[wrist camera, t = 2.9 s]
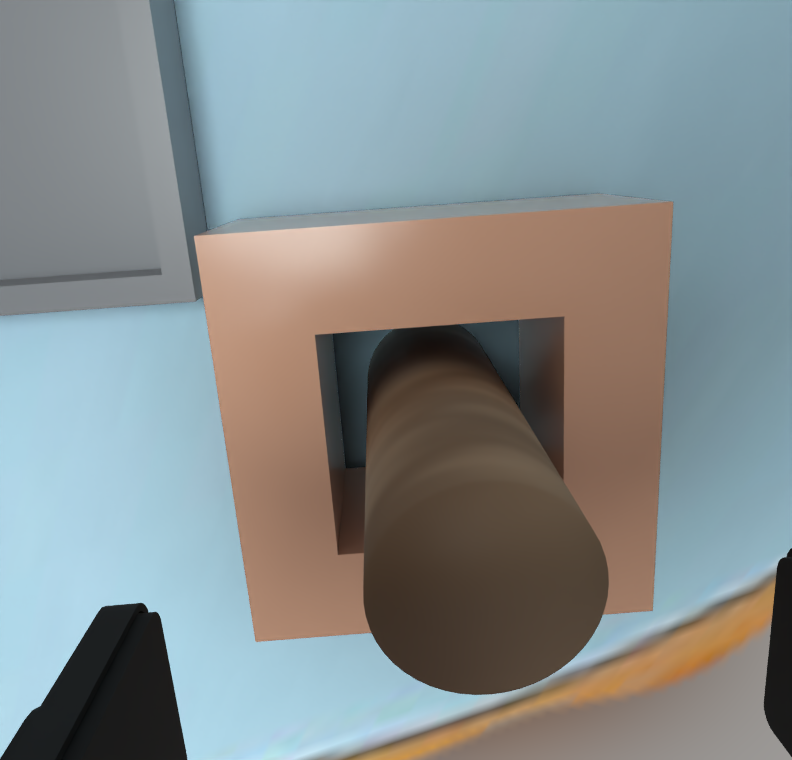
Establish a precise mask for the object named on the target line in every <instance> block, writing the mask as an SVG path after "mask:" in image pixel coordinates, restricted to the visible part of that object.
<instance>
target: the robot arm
mask: <svg viewBox="0 0 792 760" xmlns="http://www.w3.org/2000/svg"><path fill="white" fill-rule="evenodd" d="M764 710H765V715H766V718H767V721H768V724H769V726H770V728H771V729H772V731H773V732H774V734H775V735H776V737H777V738H778V739H779V741H780V742H781V743H782V744H783V746H784V747H785V748H786V750H787V751H788V753H789V754H790V755H791V757H792V548H791V549H790V550H789V552H788V554H787V557H785V558H782V559H780V561H779V563H778V566H777V575H776V585H775V595H774V605H773V615H772V625H771V635H770V647H769V657H768V666H767V677H766V686H765V696H764ZM0 760H187V754H186V749H185V744H184V739H183V733H182V728H181V723H180V718H179V712H178V707H177V702H176V697H175V691H174V686H173V681H172V676H171V670H170V665H169V660H168V654H167V649H166V644H165V639H164V633H163V628H162V623H161V619H160V616H159V614H158V613H157V612H150V613H148V609H147V607H146V606H145V605H144V604H143V603H137V604H125V605H114V606H105V607H102V608H101V609H100V611H99V612H98V613H97V615H96V617H95V618H94V620H93V622H92V623H91V625H90V626H89V628H88V630H87V631H86V633H85V635H84V636H83V638H82V639H81V641H80V643H79V644H78V646H77V648H76V649H75V651H74V652H73V654H72V656H71V657H70V659H69V661H68V662H67V664H66V666H65V667H64V669H63V670H62V672H61V674H60V675H59V677H58V679H57V680H56V682H55V683H54V685H53V687H52V688H51V690H50V692H49V693H48V695H47V696H46V698H45V700H44V701H43V703H42V705H41V706H40V707H38V708H36V709H34V710H33V711H32V712H31V713H30V714H29V715H28V716H27V718H26V719H25V720H24V722H23V723H22V725H21V727H20V728H19V730H18V731H17V733H16V735H15V736H14V738H13V739H12V741H11V743H10V744H9V746H8V747H7V749H6V750H5V752H4V754H3V755H2V757H1V758H0Z"/></svg>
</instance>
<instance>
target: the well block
mask: <svg viewBox="0 0 792 760" xmlns="http://www.w3.org/2000/svg"><path fill="white" fill-rule="evenodd" d="M672 218H673V202H672V201H663V200H654V199H645V198H636V197H627V196H618V195H609V194H600V193H596V194H582V195H568V196H554V197H540V198H526V199H512V200H498V201H484V202H470V203H456V204H442V205H428V206H414V207H400V208H386V209H372V210H358V211H344V212H330V213H316V214H302V215H288V216H274V217H260V218H246V219H237V220H235V221H232V222H230V223H227V224H224V225H222V226H219V227H216V228H214V229H211V230H208V231H206V232H203V233H201V234H198V235H195V236H194V240H195V247H196V253H197V260H198V266H199V273H200V280H201V286H202V293H203V299H204V306H205V312H206V319H207V326H208V332H209V339H210V345H211V352H212V358H213V365H214V371H215V378H216V385H217V391H218V398H219V404H220V411H221V417H222V424H223V431H224V437H225V444H226V450H227V457H228V463H229V470H230V477H231V483H232V490H233V496H234V503H235V509H236V516H237V523H238V529H239V536H240V542H241V549H242V555H243V562H244V569H245V575H246V582H247V588H248V595H249V601H250V608H251V614H252V621H253V628H254V634H255V641H256V642H260V641H272V640H285V639H298V638H310V637H323V636H336V635H349V634H361V633H372V632H371V631H370V628H369V625H368V622H367V619H366V615H365V609H364V603H363V575H364V528H365V482H366V467H358V468H346V466H345V456H344V446H343V436H342V425H341V415H340V405H339V395H338V384H337V374H336V364H335V354H334V343H333V333H345V332H358V331H372V330H386V329H399V328H413V327H427V326H440V325H454V324H467V323H481V322H495V321H508V320H519V377H520V411H521V412H522V414H523V416H524V417H525V419H526V421H527V422H528V424H529V426H530V427H531V429H532V430H533V432H534V434H535V435H536V437H537V439H538V440H539V442H540V444H541V445H542V447H543V449H544V450H545V452H546V453H547V455H548V457H549V458H550V460H551V462H552V463H553V465H554V467H555V468H556V470H557V471H558V473H559V475H560V476H561V478H562V480H563V481H564V483H565V485H566V486H567V488H568V489H569V491H570V493H571V494H572V496H573V498H574V499H575V501H576V503H577V504H578V506H579V507H580V509H581V511H582V512H583V514H584V516H585V517H586V519H587V521H588V522H589V524H590V525H591V527H592V529H593V530H594V532H595V534H596V536H597V538H598V539H599V541H600V543H601V546H602V548H603V551H604V554H605V556H606V561H607V566H608V575H609V588H608V598H607V602H606V606H605V610H604V613H603V614H616V613H629V612H642V611H653V594H654V574H655V555H656V535H657V515H658V495H659V475H660V456H661V436H662V416H663V396H664V376H665V357H666V337H667V317H668V297H669V277H670V258H671V238H672Z"/></svg>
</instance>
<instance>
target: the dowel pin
mask: <svg viewBox="0 0 792 760" xmlns="http://www.w3.org/2000/svg"><path fill="white" fill-rule="evenodd" d="M608 588H609V575H608V566H607V561H606V556H605V554H604V551H603V548H602V546H601V543H600V541H599V539H598V538H597V536H596V534H595V532H594V530H593V529H592V527H591V525H590V524H589V522H588V521H587V519H586V517H585V516H584V514H583V512H582V511H581V509H580V507H579V506H578V504H577V503H576V501H575V499H574V498H573V496H572V494H571V493H570V491H569V489H568V488H567V486H566V485H565V483H564V481H563V480H562V478H561V476H560V475H559V473H558V471H557V470H556V468H555V467H554V465H553V463H552V462H551V460H550V458H549V457H548V455H547V453H546V452H545V450H544V449H543V447H542V445H541V444H540V442H539V440H538V439H537V437H536V435H535V434H534V432H533V430H532V429H531V427H530V426H529V424H528V422H527V421H526V419H525V417H524V416H523V414H522V412H521V411H520V409H519V408H518V406H517V404H516V403H515V401H514V399H513V398H512V396H511V394H510V393H509V391H508V390H507V388H506V386H505V385H504V383H503V381H502V380H501V378H500V376H499V375H498V373H497V372H496V370H495V368H494V367H493V365H492V363H491V362H490V360H489V358H488V357H487V355H486V354H485V352H484V350H483V349H482V347H481V345H480V344H479V343H478V341H477V340H476V339H475V338H474V337H473V336H472V335H471V334H470V333H469V332H468V331H467V330H465V329H464V328H462V327H461V326H459V325H457V324H454V325H440V326H427V327H413V328H399V329H394V330H392V331H391V332H390V333H389V334H387V335H386V336H385V337H384V338H383V339H382V341H381V342H380V343H379V345H378V346H377V348H376V349H375V351H374V353H373V355H372V358H371V361H370V364H369V369H368V390H367V436H366V482H365V528H364V575H363V603H364V609H365V615H366V619H367V622H368V625H369V628H370V631H371V632H372V634H373V636H374V638H375V640H376V642H377V644H378V645H379V646H380V648H381V649H382V651H383V652H384V654H385V655H386V656H387V657H388V658H389V659H390V660H391V661H392V662H393V663H394V664H395V665H396V666H398V667H399V668H400V669H401V670H403V671H404V672H405V673H407V674H408V675H410V676H412V677H413V678H415V679H416V680H418V681H421V682H423V683H425V684H427V685H429V686H432V687H435V688H438V689H441V690H445V691H449V692H455V693H460V694H472V695H482V694H496V693H503V692H508V691H512V690H516V689H520V688H523V687H526V686H529V685H531V684H534V683H536V682H538V681H540V680H542V679H544V678H546V677H548V676H550V675H551V674H553V673H555V672H556V671H558V670H559V669H561V668H562V667H563V666H565V665H566V664H567V663H568V662H570V661H571V660H572V659H573V658H574V657H575V656H576V655H577V654H578V653H579V652H580V651H581V650H582V649H583V648H584V646H585V645H586V644H587V642H588V641H589V640H590V638H591V637H592V635H593V634H594V632H595V630H596V628H597V627H598V625H599V623H600V620H601V618H602V615H603V613H604V610H605V606H606V602H607V598H608Z"/></svg>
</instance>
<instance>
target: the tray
mask: <svg viewBox="0 0 792 760" xmlns="http://www.w3.org/2000/svg"><path fill="white" fill-rule="evenodd" d="M206 231H207V226H206V219H205V212H204V205H203V198H202V191H201V185H200V178H199V171H198V164H197V157H196V150H195V144H194V137H193V130H192V123H191V116H190V109H189V103H188V96H187V89H186V82H185V75H184V68H183V62H182V55H181V48H180V41H179V34H178V27H177V21H176V14H175V7H174V0H0V316H3V315H17V314H31V313H45V312H58V311H72V310H86V309H99V308H113V307H127V306H141V305H154V304H168V303H182V302H196V301H197V300H198V299H200V298H201V297H202V296H203V293H202V286H201V280H200V273H199V266H198V260H197V253H196V247H195V240H194V236H195V235H198V234H201V233H203V232H206Z"/></svg>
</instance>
